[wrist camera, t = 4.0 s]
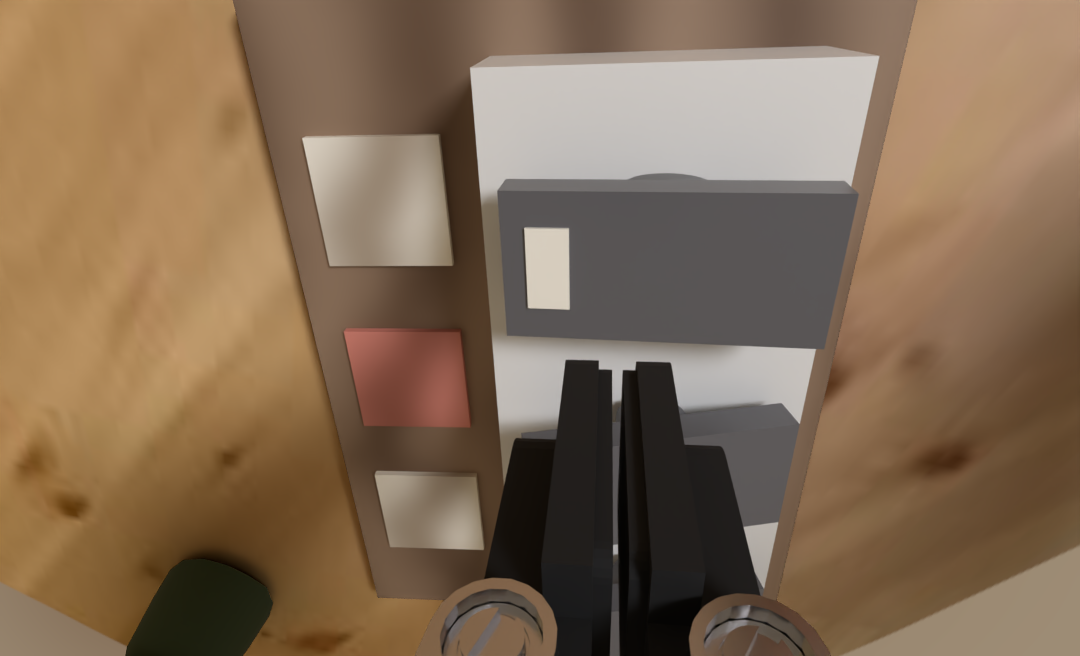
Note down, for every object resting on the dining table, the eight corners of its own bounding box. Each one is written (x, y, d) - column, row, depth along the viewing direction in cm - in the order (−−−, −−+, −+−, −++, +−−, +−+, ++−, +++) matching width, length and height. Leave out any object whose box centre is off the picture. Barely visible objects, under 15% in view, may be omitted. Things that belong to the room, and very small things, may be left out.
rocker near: (829, 166, 17) (860, 194, 15) (801, 306, 19) (825, 351, 17) (515, 166, 18) (496, 191, 16) (522, 296, 20) (506, 337, 18)
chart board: (905, -28, 19) (929, -30, 18) (767, 593, 34) (775, 617, 32) (250, -3, 21) (227, -3, 20) (384, 579, 35) (376, 602, 34)
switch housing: (826, 46, 19) (879, 56, 16) (731, 586, 32) (748, 658, 28) (490, 56, 20) (469, 67, 17) (524, 579, 33) (517, 648, 29)
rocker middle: (761, 379, 22) (801, 426, 19) (745, 471, 24) (779, 524, 22) (516, 406, 21) (526, 459, 18) (522, 500, 23) (531, 558, 21)
